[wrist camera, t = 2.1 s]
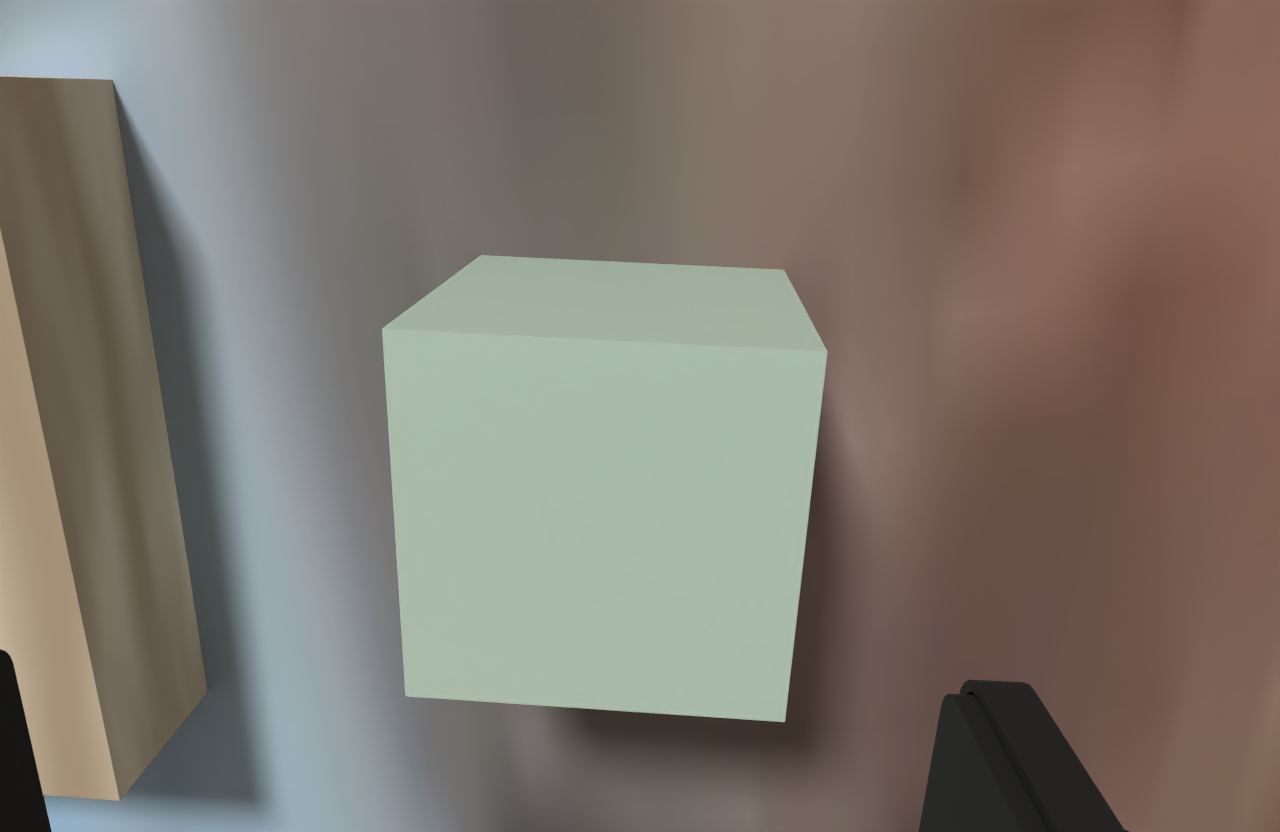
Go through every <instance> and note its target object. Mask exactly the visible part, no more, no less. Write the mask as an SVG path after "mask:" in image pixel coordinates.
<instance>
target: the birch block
mask: <svg viewBox="0 0 1280 832" xmlns="http://www.w3.org/2000/svg"><path fill="white" fill-rule="evenodd" d="M0 649H1V650H4V651H6V652H7V653H8V654H9V655H10V656H11V659H12V661H13V664H14V669H15V673H16V677H17V682H18V686H19V691H20V695H21V699H22V704H23V708H24V713H25V717H26V722H27V726H28V730H29V735H30V739H31V744H32V748H33V753H34V757H35V761H36V766H37V770H38V775H39V779H40V784H41V788H42V792H43V795H47V796H60V797H74V798H88V799H102V800H115V801H120V800H121V799H122V797H123V796H124V795H125V794H126V793H127V791H128V790H129V789H130V788H131V786H132V785H133V784H134V783H135V781H136V780H137V779H138V778H139V777H140V775H141V774H142V773H143V772H144V770H145V769H146V768H147V767H148V765H149V764H150V763H151V762H152V761H153V759H154V758H155V757H156V756H157V754H158V753H159V752H160V751H161V749H162V748H163V747H164V746H165V745H166V743H167V742H168V741H169V740H170V738H171V737H172V736H173V735H174V733H175V732H176V731H177V730H178V729H179V727H180V726H181V725H182V724H183V722H184V721H185V720H186V719H187V717H188V716H189V715H190V714H191V713H192V711H193V710H194V709H195V708H196V706H197V705H198V704H199V703H200V701H201V700H202V699H203V698H204V697H205V695H206V694H207V693H208V689H207V683H206V676H205V670H204V664H203V657H202V651H201V644H200V638H199V632H198V625H197V619H196V612H195V606H194V600H193V593H192V587H191V580H190V574H189V567H188V561H187V555H186V548H185V542H184V535H183V529H182V523H181V516H180V510H179V503H178V497H177V491H176V484H175V478H174V471H173V465H172V459H171V452H170V446H169V439H168V433H167V427H166V420H165V414H164V407H163V401H162V395H161V388H160V382H159V375H158V369H157V363H156V356H155V350H154V343H153V337H152V331H151V324H150V318H149V311H148V305H147V299H146V292H145V286H144V279H143V273H142V266H141V260H140V254H139V247H138V241H137V234H136V228H135V222H134V215H133V209H132V202H131V196H130V190H129V183H128V177H127V170H126V164H125V158H124V151H123V145H122V138H121V132H120V126H119V119H118V113H117V106H116V100H115V94H114V87H113V81H112V80H101V79H76V78H52V77H27V76H3V75H0Z"/></svg>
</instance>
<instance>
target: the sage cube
mask: <svg viewBox="0 0 1280 832" xmlns="http://www.w3.org/2000/svg"><path fill="white" fill-rule="evenodd" d="M382 335H383V351H384V367H385V382H386V398H387V414H388V429H389V445H390V461H391V476H392V492H393V508H394V523H395V539H396V554H397V570H398V586H399V601H400V617H401V633H402V648H403V664H404V680H405V695H406V696H410V697H425V698H439V699H454V700H468V701H483V702H498V703H512V704H527V705H542V706H556V707H571V708H585V709H600V710H615V711H629V712H644V713H659V714H673V715H688V716H702V717H717V718H732V719H746V720H761V721H776V722H785V717H786V708H787V700H788V691H789V682H790V673H791V665H792V656H793V647H794V639H795V630H796V621H797V613H798V604H799V595H800V586H801V578H802V569H803V560H804V552H805V543H806V534H807V526H808V517H809V508H810V499H811V491H812V482H813V473H814V465H815V456H816V447H817V438H818V430H819V421H820V412H821V404H822V395H823V386H824V378H825V369H826V360H827V350H826V348H825V346H824V344H823V342H822V340H821V339H820V337H819V335H818V333H817V331H816V329H815V327H814V325H813V323H812V322H811V320H810V318H809V316H808V314H807V312H806V310H805V308H804V307H803V305H802V303H801V301H800V299H799V297H798V295H797V293H796V292H795V290H794V288H793V286H792V284H791V282H790V280H789V278H788V277H787V275H786V273H785V271H784V270H776V269H755V268H734V267H713V266H692V265H671V264H650V263H630V262H609V261H588V260H567V259H546V258H525V257H504V256H483V255H481V256H479V257H478V258H477V259H475V260H474V261H473V262H471V263H470V264H468V265H467V266H466V267H464V268H463V269H462V270H460V271H459V272H458V273H456V274H455V275H454V276H452V277H451V278H450V279H448V280H447V281H446V282H444V283H443V284H442V285H440V286H439V287H437V288H436V289H435V290H433V291H432V292H431V293H429V294H428V295H427V296H425V297H424V298H423V299H421V300H420V301H419V302H417V303H416V304H415V305H413V306H412V307H411V308H409V309H408V310H407V311H405V312H404V313H402V314H401V315H400V316H398V317H397V318H396V319H394V320H393V321H392V322H390V323H389V324H388V325H386V326H385V327H384V328H382Z"/></svg>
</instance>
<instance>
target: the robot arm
mask: <svg viewBox="0 0 1280 832" xmlns="http://www.w3.org/2000/svg"><path fill="white" fill-rule="evenodd" d="M0 832H51V828H50V823H49V819H48V815H47V810H46V806H45V801H44V797H43V792H42V788H41V784H40V779H39V775H38V770H37V766H36V761H35V757H34V753H33V748H32V744H31V739H30V735H29V730H28V726H27V722H26V717H25V713H24V708H23V704H22V699H21V695H20V691H19V686H18V682H17V677H16V673H15V669H14V664H13V661H12V659H11V656H10V655H9V654H8V653H7V652H6V651H4V650H1V649H0ZM919 832H1129V831H1127V830H1124V829H1123V827H1122V826H1121V824H1120V822H1119V821H1118V819H1117V818H1116V816H1115V815H1114V813H1113V812H1112V810H1111V808H1110V807H1109V805H1108V804H1107V802H1106V801H1105V799H1104V798H1103V796H1102V795H1101V793H1100V791H1099V790H1098V788H1097V787H1096V785H1095V784H1094V782H1093V781H1092V779H1091V778H1090V776H1089V774H1088V773H1087V771H1086V770H1085V768H1084V767H1083V765H1082V764H1081V762H1080V760H1079V759H1078V757H1077V756H1076V754H1075V753H1074V751H1073V750H1072V748H1071V747H1070V745H1069V743H1068V742H1067V740H1066V739H1065V737H1064V736H1063V734H1062V733H1061V731H1060V729H1059V728H1058V726H1057V725H1056V723H1055V722H1054V720H1053V719H1052V717H1051V716H1050V714H1049V712H1048V711H1047V709H1046V708H1045V706H1044V705H1043V703H1042V702H1041V700H1040V699H1039V697H1038V695H1037V694H1036V692H1035V691H1034V690H1033V689H1032V687H1031V686H1030V685H1029V684H1026V683H1023V682H1005V681H984V680H968V681H966V682H965V683H964V684H963V686H962V687H961V690H960V694H948V695H946V696H945V697H944V699H943V702H942V705H941V710H940V716H939V721H938V727H937V732H936V738H935V744H934V749H933V755H932V760H931V766H930V772H929V777H928V783H927V788H926V794H925V800H924V805H923V811H922V816H921V822H920V827H919Z"/></svg>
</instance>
